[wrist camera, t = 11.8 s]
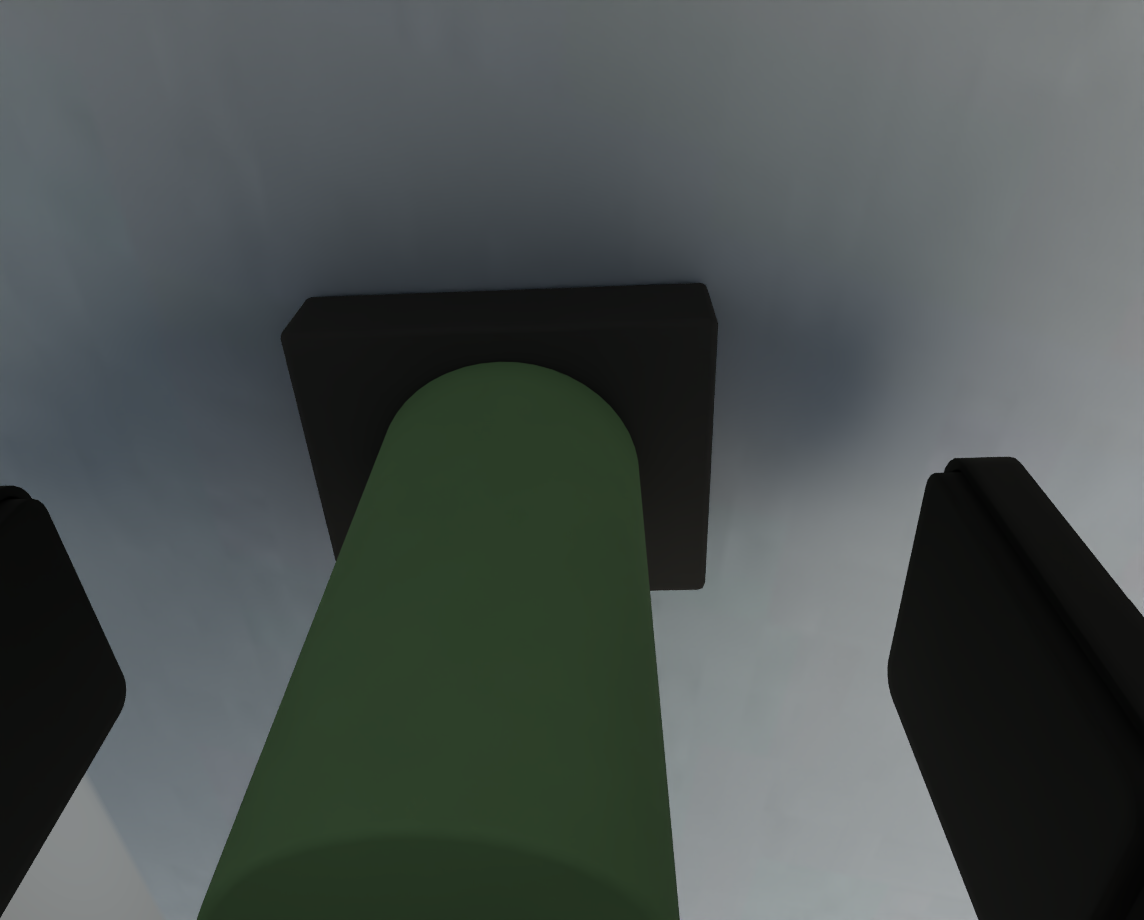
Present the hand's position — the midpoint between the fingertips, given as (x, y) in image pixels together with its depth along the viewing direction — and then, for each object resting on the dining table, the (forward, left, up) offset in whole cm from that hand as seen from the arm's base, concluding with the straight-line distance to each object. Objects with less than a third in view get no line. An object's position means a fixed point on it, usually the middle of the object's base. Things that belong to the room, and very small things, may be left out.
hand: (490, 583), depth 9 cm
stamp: (0, 0, -3) cm, 3 cm away
